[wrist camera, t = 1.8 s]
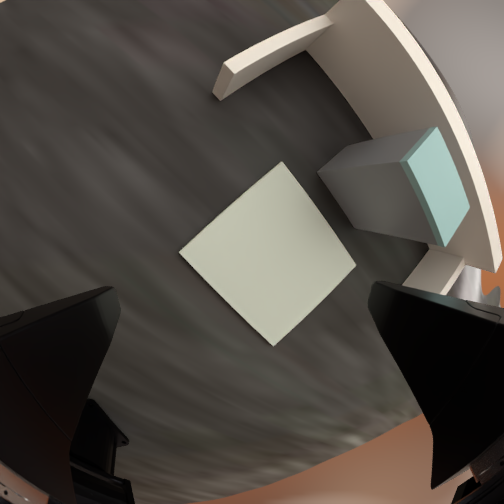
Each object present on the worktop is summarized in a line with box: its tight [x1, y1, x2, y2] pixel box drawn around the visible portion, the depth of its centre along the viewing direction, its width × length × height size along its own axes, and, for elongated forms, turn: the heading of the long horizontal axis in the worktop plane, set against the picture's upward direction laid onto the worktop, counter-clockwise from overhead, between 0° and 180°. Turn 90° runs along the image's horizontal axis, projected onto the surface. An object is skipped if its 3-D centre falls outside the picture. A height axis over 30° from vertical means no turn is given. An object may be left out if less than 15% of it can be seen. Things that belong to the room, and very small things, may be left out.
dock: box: [212, 0, 502, 295], centre depth 18 cm, size 12×26×9 cm, turn 41°
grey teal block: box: [317, 126, 470, 247], centre depth 18 cm, size 4×6×10 cm, turn 41°
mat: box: [179, 162, 356, 346], centre depth 22 cm, size 10×11×1 cm
